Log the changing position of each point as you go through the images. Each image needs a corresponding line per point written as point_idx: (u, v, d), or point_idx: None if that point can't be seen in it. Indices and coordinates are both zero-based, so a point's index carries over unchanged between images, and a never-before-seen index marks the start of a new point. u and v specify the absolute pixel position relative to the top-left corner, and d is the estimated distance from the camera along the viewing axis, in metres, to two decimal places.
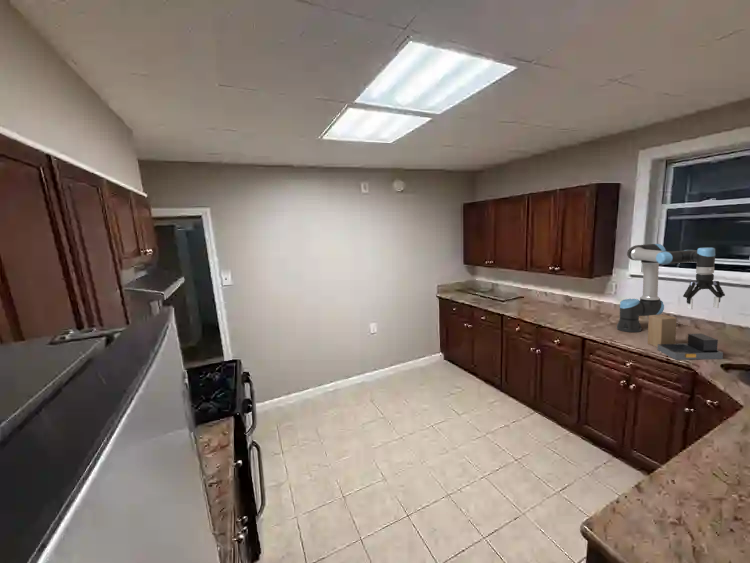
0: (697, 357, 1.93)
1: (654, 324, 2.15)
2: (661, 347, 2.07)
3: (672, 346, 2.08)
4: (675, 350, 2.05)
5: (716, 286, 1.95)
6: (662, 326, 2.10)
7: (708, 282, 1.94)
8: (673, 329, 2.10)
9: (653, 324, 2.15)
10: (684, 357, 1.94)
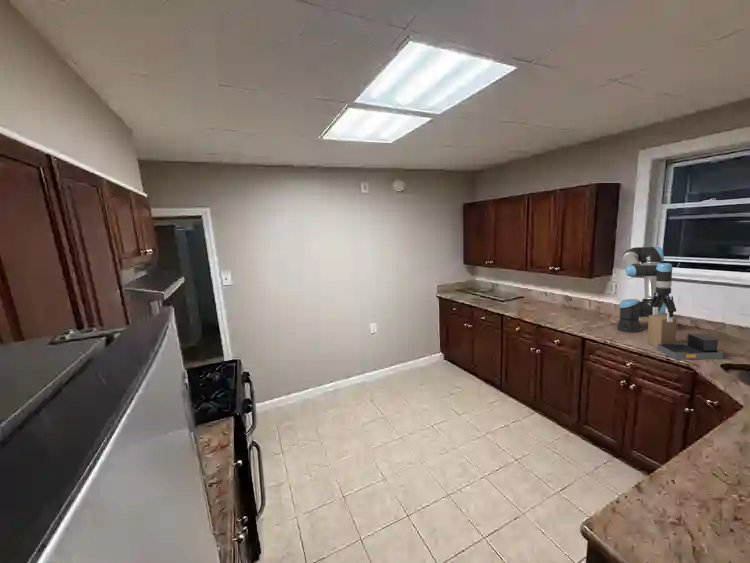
0: (697, 357, 1.93)
1: (654, 324, 2.15)
2: (661, 347, 2.07)
3: (672, 346, 2.08)
4: (675, 350, 2.05)
5: None
6: (662, 326, 2.10)
7: (662, 295, 2.11)
8: (673, 329, 2.10)
9: (653, 324, 2.15)
10: (684, 357, 1.94)
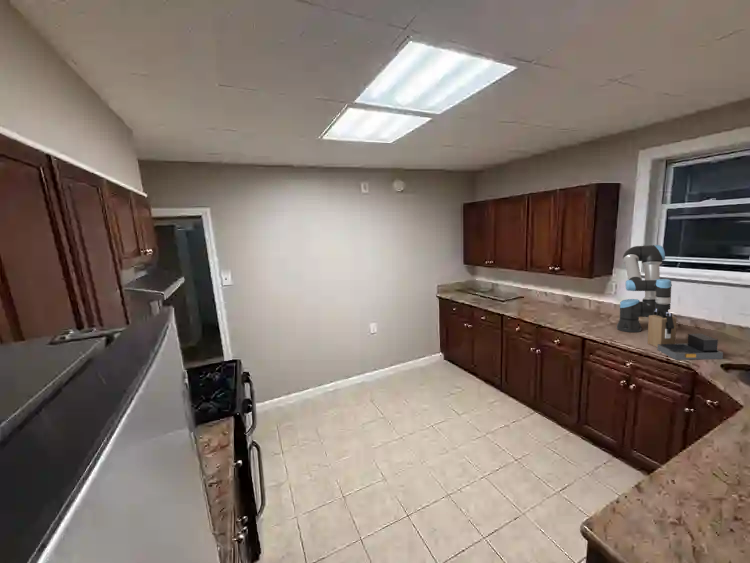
0: (697, 357, 1.93)
1: (654, 324, 2.15)
2: (661, 347, 2.07)
3: (672, 346, 2.08)
4: (675, 350, 2.05)
5: None
6: (662, 326, 2.10)
7: (662, 311, 2.12)
8: (673, 329, 2.10)
9: (653, 324, 2.15)
10: (684, 357, 1.94)
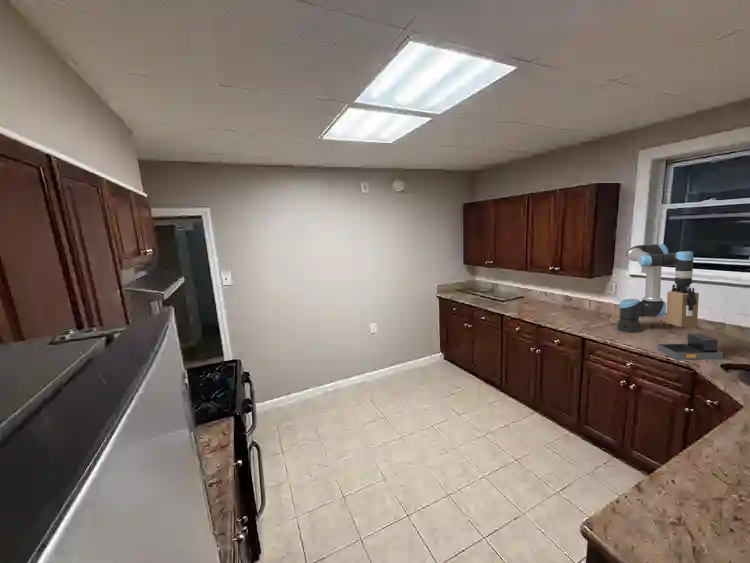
0: (697, 357, 1.93)
1: (674, 301, 1.97)
2: (661, 347, 2.07)
3: (672, 346, 2.08)
4: (675, 350, 2.05)
5: None
6: (683, 302, 1.92)
7: (682, 286, 1.94)
8: (695, 305, 1.92)
9: (673, 301, 1.97)
10: (684, 357, 1.94)
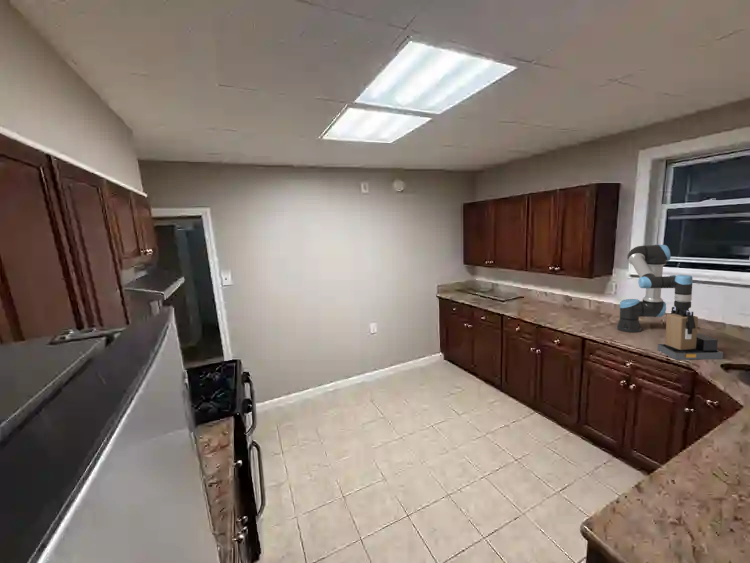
0: (697, 357, 1.93)
1: (673, 324, 1.98)
2: (661, 347, 2.07)
3: None
4: (675, 350, 2.05)
5: None
6: (682, 326, 1.94)
7: (681, 309, 1.96)
8: (694, 329, 1.94)
9: (672, 324, 1.99)
10: (684, 357, 1.94)
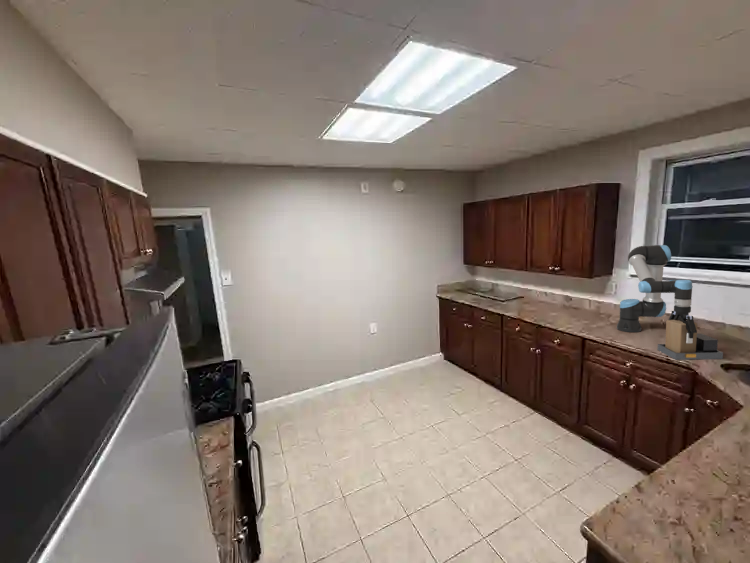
0: (697, 357, 1.93)
1: (673, 330, 1.99)
2: (661, 347, 2.07)
3: None
4: None
5: None
6: (681, 332, 1.94)
7: (681, 314, 1.97)
8: (694, 335, 1.95)
9: (672, 330, 2.00)
10: (684, 357, 1.94)
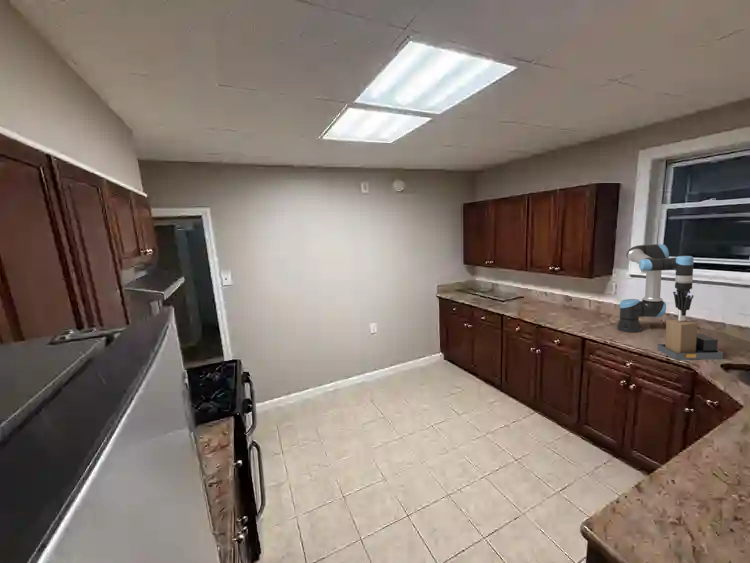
0: (697, 357, 1.93)
1: (673, 330, 1.99)
2: (661, 347, 2.07)
3: None
4: None
5: None
6: (681, 332, 1.94)
7: (683, 289, 1.94)
8: (694, 335, 1.95)
9: (672, 330, 2.00)
10: (684, 357, 1.94)
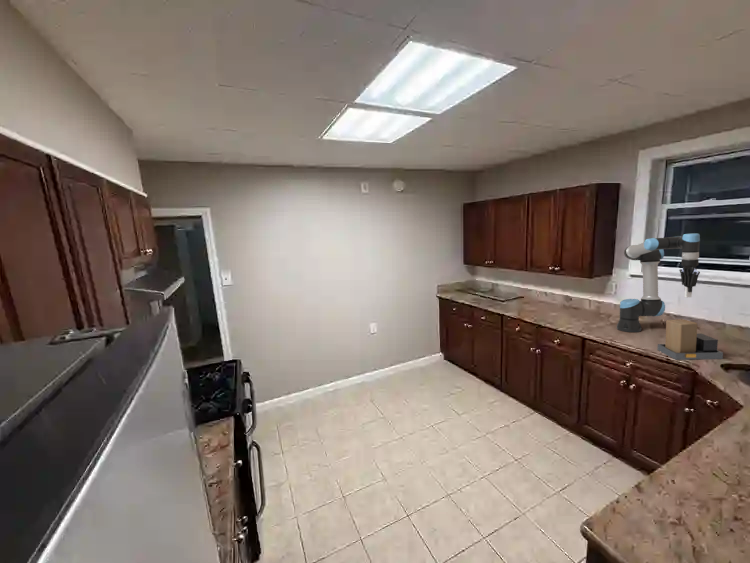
0: (697, 357, 1.93)
1: (673, 330, 1.99)
2: (661, 347, 2.07)
3: None
4: None
5: None
6: (681, 332, 1.94)
7: (690, 266, 1.97)
8: (694, 335, 1.95)
9: (672, 330, 2.00)
10: (684, 357, 1.94)
